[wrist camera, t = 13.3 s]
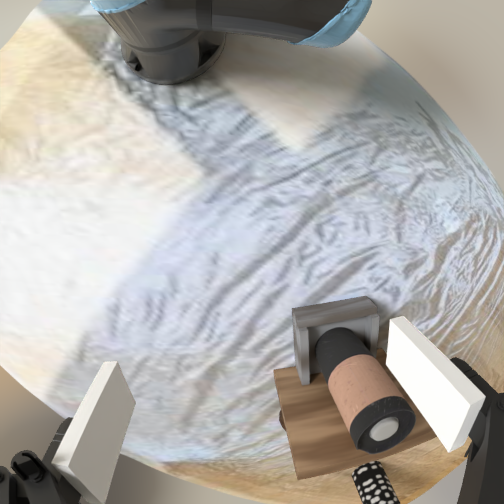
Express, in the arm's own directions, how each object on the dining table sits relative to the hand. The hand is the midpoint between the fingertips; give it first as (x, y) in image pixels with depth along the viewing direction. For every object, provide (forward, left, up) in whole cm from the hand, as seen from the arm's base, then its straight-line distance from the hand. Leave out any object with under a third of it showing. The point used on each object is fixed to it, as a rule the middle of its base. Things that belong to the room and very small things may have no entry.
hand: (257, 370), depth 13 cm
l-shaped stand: (+19, +13, -31) cm, 39 cm away
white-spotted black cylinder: (+65, +25, -31) cm, 77 cm away
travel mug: (+19, +13, -28) cm, 36 cm away
